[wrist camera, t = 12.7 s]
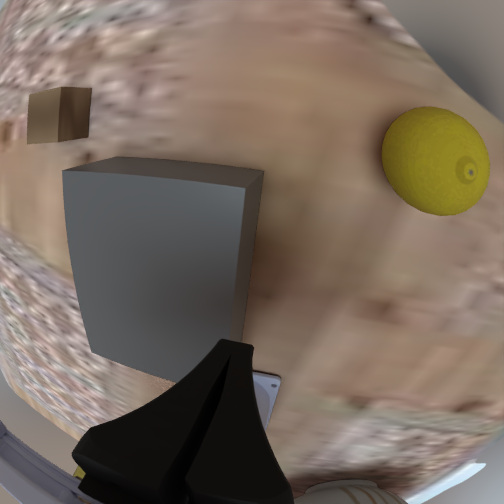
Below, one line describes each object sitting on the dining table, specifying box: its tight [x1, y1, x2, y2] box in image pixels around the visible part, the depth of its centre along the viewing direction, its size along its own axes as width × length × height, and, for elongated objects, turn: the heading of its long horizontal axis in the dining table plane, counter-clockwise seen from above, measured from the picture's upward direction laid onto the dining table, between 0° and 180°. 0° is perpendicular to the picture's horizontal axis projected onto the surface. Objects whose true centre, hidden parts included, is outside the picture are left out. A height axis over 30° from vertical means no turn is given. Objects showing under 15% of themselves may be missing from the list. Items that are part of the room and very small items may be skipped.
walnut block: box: [27, 87, 92, 144], centre depth 17 cm, size 4×4×4 cm
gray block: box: [62, 157, 264, 383], centre depth 19 cm, size 14×11×6 cm
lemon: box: [382, 107, 490, 216], centre depth 12 cm, size 6×6×8 cm
